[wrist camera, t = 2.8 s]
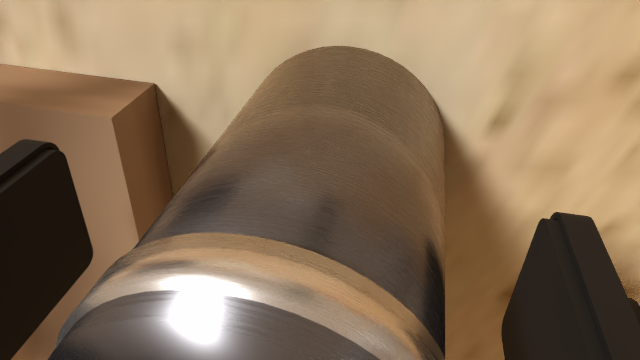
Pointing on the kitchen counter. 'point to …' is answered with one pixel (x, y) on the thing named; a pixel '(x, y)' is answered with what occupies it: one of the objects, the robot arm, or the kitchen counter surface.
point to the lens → (292, 231)
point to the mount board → (91, 165)
